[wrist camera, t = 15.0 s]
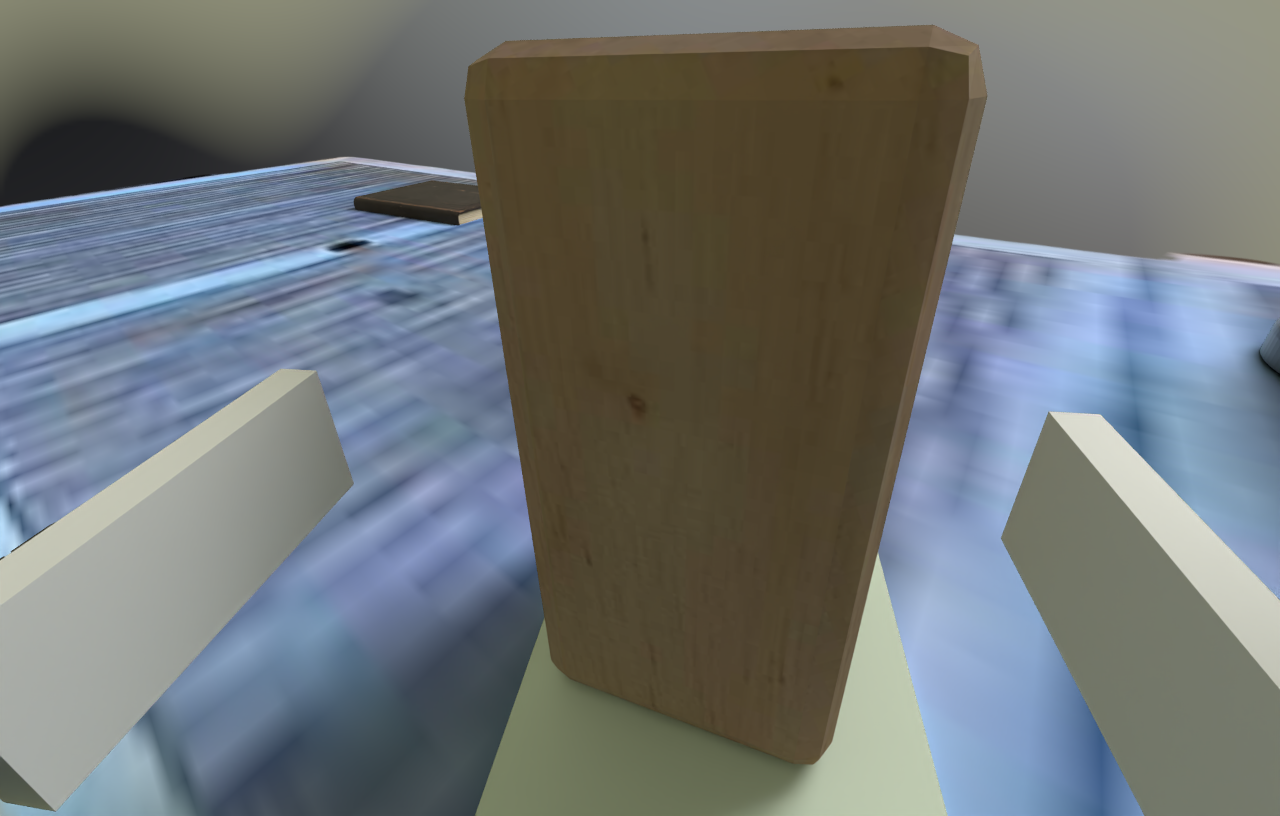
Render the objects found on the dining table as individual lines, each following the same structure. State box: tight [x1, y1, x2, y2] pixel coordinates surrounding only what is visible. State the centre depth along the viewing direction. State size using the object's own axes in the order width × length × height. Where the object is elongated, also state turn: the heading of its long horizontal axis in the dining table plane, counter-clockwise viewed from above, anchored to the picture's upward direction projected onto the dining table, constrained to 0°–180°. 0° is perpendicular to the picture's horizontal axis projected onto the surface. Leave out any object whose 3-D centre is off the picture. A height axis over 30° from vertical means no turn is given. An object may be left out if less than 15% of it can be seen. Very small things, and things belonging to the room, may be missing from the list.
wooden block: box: [464, 25, 987, 765], centre depth 19 cm, size 10×10×20 cm
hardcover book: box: [354, 181, 483, 225], centre depth 95 cm, size 16×23×2 cm
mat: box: [475, 553, 947, 816], centre depth 22 cm, size 14×14×1 cm
